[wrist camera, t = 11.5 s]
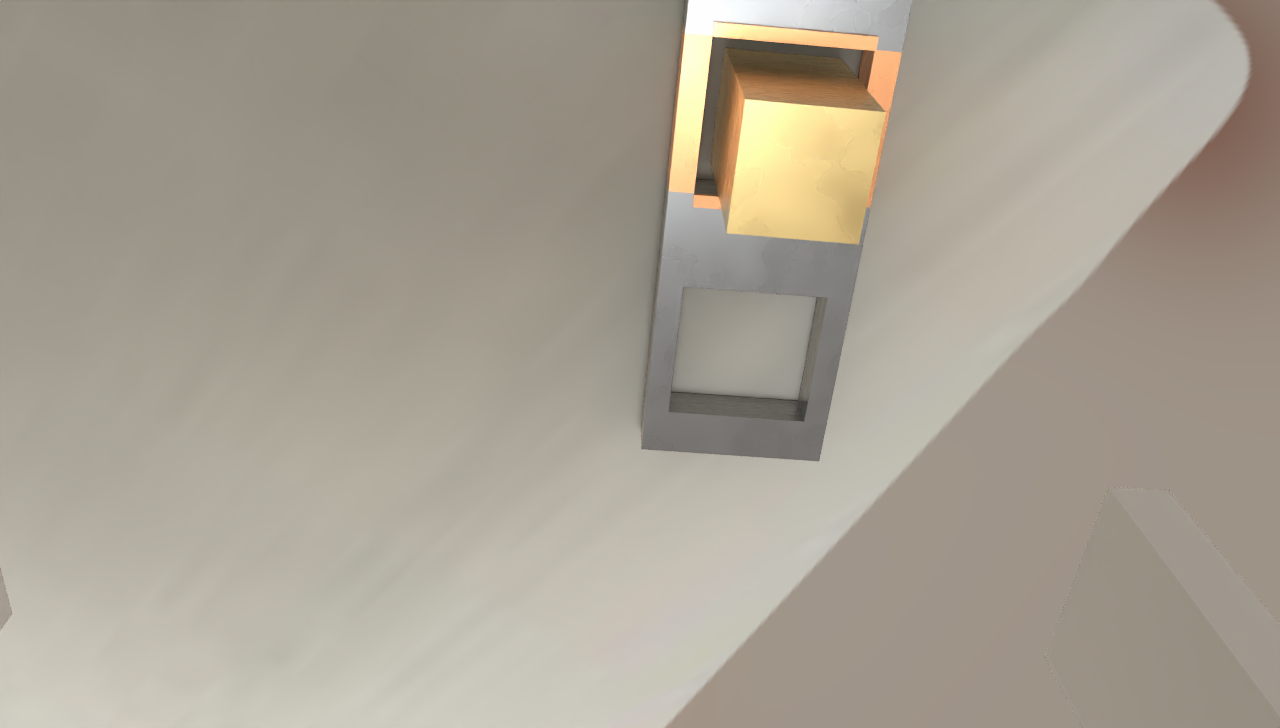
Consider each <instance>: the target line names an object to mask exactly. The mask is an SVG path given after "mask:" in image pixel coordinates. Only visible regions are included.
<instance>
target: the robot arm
mask: <svg viewBox="0 0 1280 728" xmlns="http://www.w3.org/2000/svg"><path fill="white" fill-rule="evenodd" d="M11 615H12V611H11V607H10V603H9V599H8V595H7V592H6V588H5V584H4V580H3V576H2V572H1V568H0V630H1V629H2V627H3V626H4V625H5V623H6V622H7V620H8V619H9V618H10V616H11ZM1045 659H1046V661H1047V663H1048V665H1049V667H1050V669H1051V671H1052V673H1053V675H1054V677H1055V679H1056V680H1057V682H1058V684H1059V686H1060V688H1061V690H1062V692H1063V694H1064V696H1065V698H1066V700H1067V701H1068V703H1069V705H1070V707H1071V709H1072V711H1073V713H1074V715H1075V717H1076V719H1077V721H1078V723H1079V724H1080V726H1081V728H1280V623H1279V622H1278V621H1277V620H1276V618H1275V617H1274V616H1273V615H1272V613H1271V612H1270V611H1269V610H1268V609H1267V607H1266V606H1265V605H1264V604H1263V603H1262V601H1261V600H1260V599H1259V598H1258V596H1257V595H1256V594H1255V593H1254V592H1253V590H1252V589H1251V588H1250V587H1249V586H1248V584H1247V583H1246V582H1245V581H1244V580H1243V578H1242V577H1241V576H1240V575H1239V574H1238V572H1237V571H1236V570H1235V569H1234V568H1233V566H1232V565H1231V564H1230V563H1229V562H1228V560H1227V559H1226V558H1225V557H1224V556H1223V554H1222V553H1221V552H1220V551H1219V550H1218V548H1217V547H1216V546H1215V545H1214V543H1213V542H1212V541H1211V540H1210V539H1209V537H1208V536H1207V535H1206V534H1205V533H1204V531H1203V530H1202V529H1201V528H1200V527H1199V525H1198V524H1197V523H1196V522H1195V521H1194V520H1193V518H1192V517H1191V516H1190V515H1189V514H1188V512H1187V511H1186V510H1185V509H1184V507H1183V506H1182V505H1181V504H1180V503H1179V501H1178V500H1177V499H1176V498H1175V497H1174V496H1173V494H1172V493H1171V492H1170V490H1151V489H1133V488H1116V487H1108V489H1107V492H1106V495H1105V497H1104V500H1103V503H1102V506H1101V508H1100V511H1099V513H1098V516H1097V519H1096V521H1095V524H1094V527H1093V529H1092V532H1091V535H1090V537H1089V540H1088V543H1087V545H1086V548H1085V551H1084V553H1083V556H1082V559H1081V562H1080V564H1079V567H1078V569H1077V572H1076V575H1075V577H1074V580H1073V583H1072V585H1071V588H1070V591H1069V593H1068V596H1067V599H1066V601H1065V604H1064V607H1063V609H1062V612H1061V615H1060V617H1059V620H1058V623H1057V626H1056V628H1055V631H1054V633H1053V636H1052V639H1051V641H1050V644H1049V647H1048V649H1047V652H1046V655H1045Z"/></svg>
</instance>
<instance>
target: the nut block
mask: <svg viewBox="0 0 1280 728" xmlns="http://www.w3.org/2000/svg"><path fill="white" fill-rule="evenodd" d="M885 115H886V112H885V110H884V109H883V108H882V107H881V106H880V104H879V103H878V102H877V101H876V100H875V99H874V97H873V96H872V95H871V94H870V93H869V91H868V90H867V89H866V88H865V87H864V85H863V84H862V83H861V82H860V81H859V80H858V78H857V77H856V76H855V75H854V74H853V72H852V71H851V70H850V69H849V68H848V67H847V65H846V64H845V63H844V62H843V61H842V59H840V58H829V57H818V56H808V55H797V54H786V53H775V52H765V51H754V50H743V49H732V48H725V52H724V60H723V67H722V75H721V83H720V91H719V99H718V107H717V114H716V122H715V130H714V138H713V146H712V154H711V161H710V162H711V166H712V171H713V175H714V180H715V184H716V188H717V193H718V197H719V202H720V206H721V211H722V215H723V219H724V224H725V228H726V233H729V234H741V235H753V236H765V237H777V238H788V239H800V240H812V241H824V242H836V243H848V244H859V241H860V236H861V231H862V227H863V222H864V217H865V212H866V207H867V202H868V197H869V193H870V188H871V183H872V178H873V173H874V168H875V163H876V158H877V154H878V149H879V144H880V139H881V134H882V129H883V124H884V119H885Z"/></svg>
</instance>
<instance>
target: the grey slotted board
mask: <svg viewBox="0 0 1280 728" xmlns="http://www.w3.org/2000/svg"><path fill="white" fill-rule="evenodd" d="M911 5H912V0H685V8H684V17H683V27H682V37H681V46H680V56H679V66H678V75H677V85H676V95H675V104H674V114H673V124H672V133H671V143H670V153H669V163H668V172H667V182H666V192H665V201H664V211H663V221H662V230H661V240H660V250H659V259H658V269H657V279H656V288H655V298H654V308H653V317H652V327H651V337H650V347H649V356H648V366H647V376H646V385H645V395H644V405H643V414H642V424H641V446H642V449H648V450H663V451H677V452H692V453H707V454H721V455H736V456H751V457H765V458H780V459H795V460H809V461H819V459H820V454H821V449H822V444H823V439H824V434H825V429H826V424H827V419H828V414H829V409H830V405H831V400H832V395H833V390H834V385H835V380H836V375H837V370H838V365H839V360H840V355H841V350H842V345H843V340H844V335H845V330H846V326H847V321H848V316H849V311H850V306H851V301H852V296H853V291H854V286H855V281H856V276H857V271H858V266H859V261H860V256H861V251H862V247H863V242H864V237H865V232H866V227H867V222H868V217H869V212H870V207H871V202H872V197H873V192H874V187H875V182H876V177H877V172H878V168H879V163H880V158H881V153H882V148H883V143H884V138H885V133H886V128H887V123H888V118H889V113H890V108H891V103H892V98H893V93H894V89H895V84H896V79H897V74H898V69H899V64H900V59H901V54H902V49H903V44H904V39H905V34H906V29H907V24H908V19H909V14H910V10H911ZM712 36H713V37H723V38H735V39H746V40H757V41H768V42H780V43H791V44H802V45H814V46H825V47H836V48H848V49H859V50H863V54H862V60H861V65H860V70H859V76H858V80H859V81H860V82H861V83H862V84H863V85H864V87H865V88H866V89H867V90H868V91H869V93H870V94H871V95H872V96H873V97H874V99H875V100H876V101H877V102H878V103H879V104H880V106H881V107H882V108H883V109H884V110H885V112H886V115H885V119H884V124H883V129H882V134H881V139H880V144H879V149H878V154H877V158H876V163H875V168H874V173H873V178H872V183H871V188H870V193H869V197H868V202H867V207H866V212H865V217H864V222H863V227H862V231H861V236H860V241H859V244H848V243H836V242H824V241H812V240H800V239H788V238H777V237H765V236H753V235H741V234H729V233H726V228H725V224H724V219H723V215H722V211H721V206H720V202H719V197H718V193H717V188H716V184H715V181H714V180H701V179H696V172H697V163H698V155H699V146H700V138H701V129H702V121H703V112H704V104H705V95H706V86H707V78H708V69H709V61H710V52H711V44H712ZM683 287H694V288H707V289H720V290H733V291H746V292H760V293H773V294H786V295H799V296H812V297H817V303H816V308H815V313H814V319H813V324H812V330H811V335H810V340H809V346H808V351H807V357H806V362H805V367H804V373H803V378H802V384H801V389H800V395H799V400H798V401H791V400H777V399H763V398H749V397H735V396H721V395H707V394H693V393H679V392H671V386H672V377H673V369H674V360H675V351H676V343H677V334H678V326H679V317H680V309H681V300H682V292H683Z"/></svg>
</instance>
